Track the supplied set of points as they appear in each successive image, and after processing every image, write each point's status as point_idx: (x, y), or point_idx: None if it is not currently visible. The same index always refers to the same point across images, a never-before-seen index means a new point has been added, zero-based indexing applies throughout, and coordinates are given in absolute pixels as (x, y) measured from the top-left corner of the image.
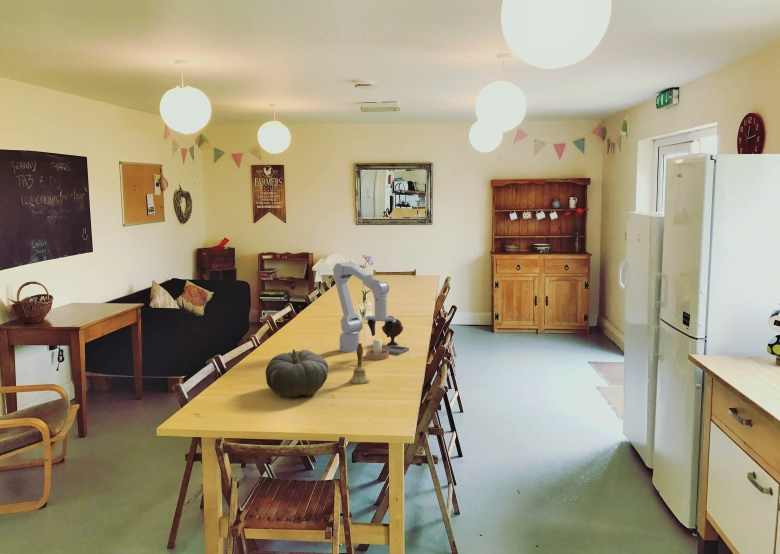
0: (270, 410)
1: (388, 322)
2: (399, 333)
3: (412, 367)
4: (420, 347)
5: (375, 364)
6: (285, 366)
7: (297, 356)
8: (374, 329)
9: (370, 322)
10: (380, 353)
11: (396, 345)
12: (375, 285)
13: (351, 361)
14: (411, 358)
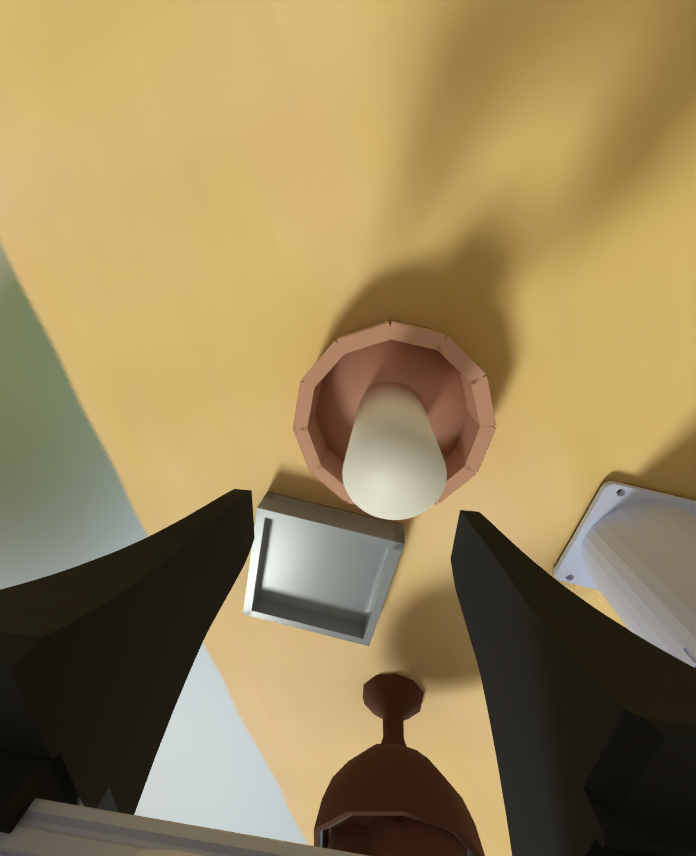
0: None
1: (5, 743)
2: (335, 774)
3: (44, 231)
4: (230, 670)
5: (342, 209)
6: None
7: None
8: (477, 631)
9: (680, 740)
10: (358, 409)
11: (365, 684)
12: None
13: (587, 231)
14: (169, 461)
